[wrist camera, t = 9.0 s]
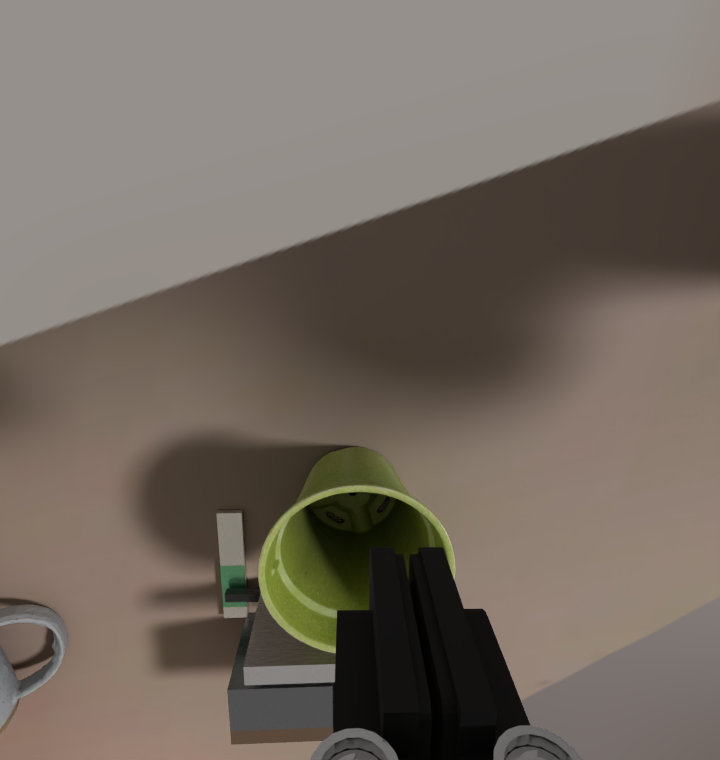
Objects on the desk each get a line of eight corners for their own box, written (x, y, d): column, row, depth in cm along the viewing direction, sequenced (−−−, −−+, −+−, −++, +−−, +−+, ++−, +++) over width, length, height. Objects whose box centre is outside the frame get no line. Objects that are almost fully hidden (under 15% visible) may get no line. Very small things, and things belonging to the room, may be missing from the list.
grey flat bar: (227, 580, 31) (197, 668, 24) (438, 575, 32) (466, 659, 25) (231, 630, 32) (202, 728, 25) (435, 624, 33) (461, 717, 26)
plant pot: (380, 572, 32) (395, 682, 24) (255, 517, 30) (225, 614, 22) (448, 460, 30) (492, 536, 22) (320, 397, 29) (313, 452, 20)
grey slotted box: (218, 510, 30) (189, 568, 24) (460, 506, 31) (489, 562, 25) (228, 660, 33) (205, 745, 27) (450, 653, 34) (474, 734, 28)
